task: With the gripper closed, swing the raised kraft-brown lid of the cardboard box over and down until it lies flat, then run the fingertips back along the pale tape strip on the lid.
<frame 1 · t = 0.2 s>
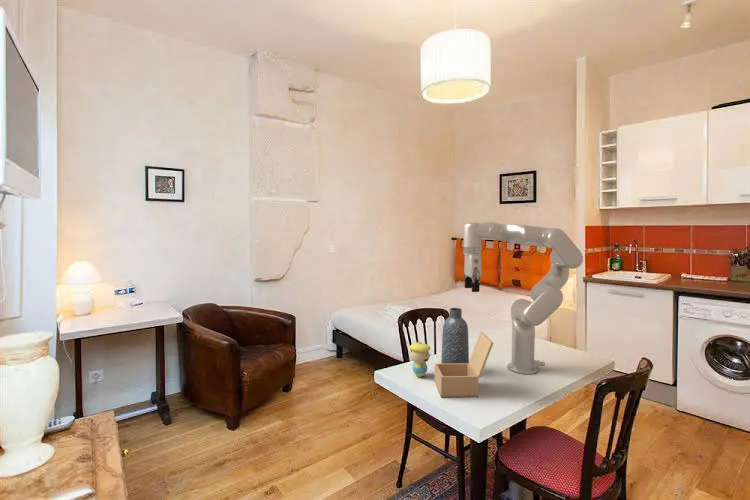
hand: (471, 289, 172), 36 cm above the table, tool pointing down, fingers open, 9 cm apart
lid: (480, 353, 154), point 15 cm above the table, hinge at 110.0°
toy: (420, 376, 168), on the table
box: (455, 389, 155), on the table
vase: (454, 372, 173), on the table
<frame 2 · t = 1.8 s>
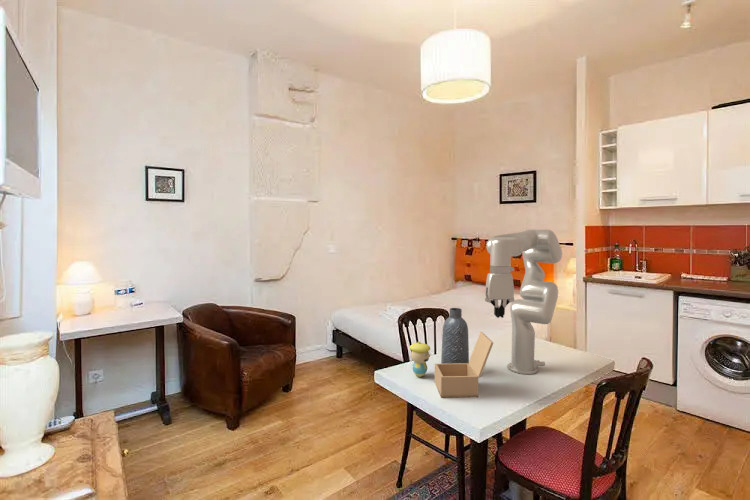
hand: (499, 316, 153), 29 cm above the table, tool pointing down, fingers closed
nothing on the table moved.
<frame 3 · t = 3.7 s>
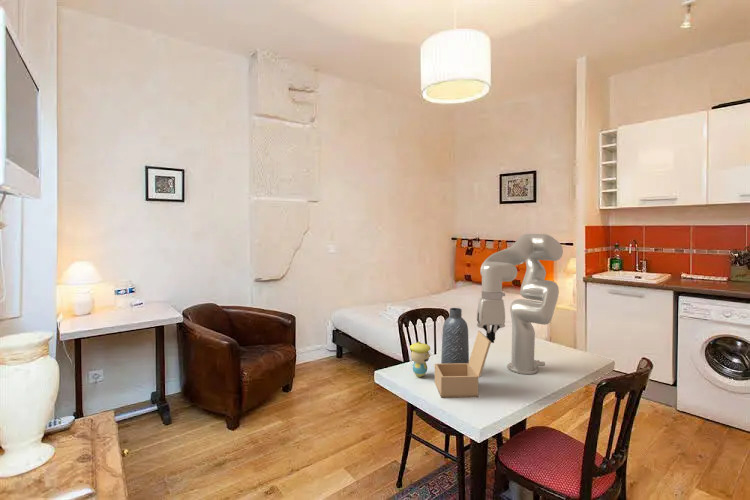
hand: (490, 341, 154), 19 cm above the table, tool pointing down, fingers closed
lid: (479, 353, 154), point 15 cm above the table, hinge at 106.0°, touching gripper
everything else where it was.
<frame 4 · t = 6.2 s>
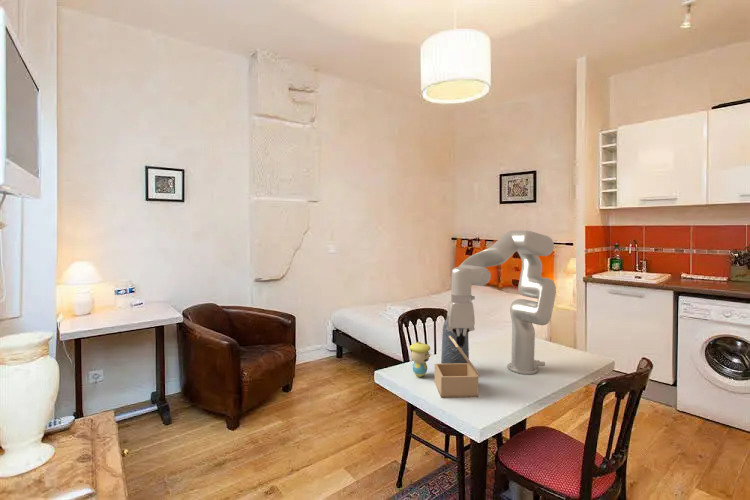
hand: (460, 345, 153), 18 cm above the table, tool pointing down, fingers closed
lid: (463, 354, 154), point 14 cm above the table, hinge at 53.3°, touching gripper
everything else where it was.
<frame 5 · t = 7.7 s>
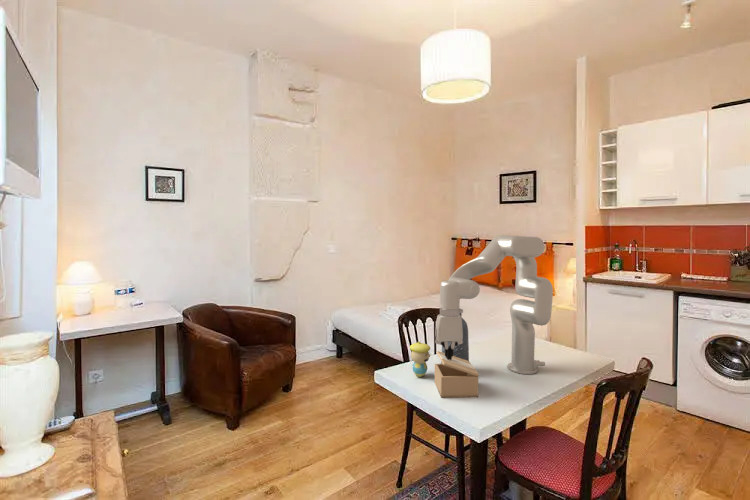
hand: (448, 358, 154), 13 cm above the table, tool pointing down, fingers closed
lid: (457, 362, 154), point 11 cm above the table, hinge at 18.9°, touching gripper
everything else where it was.
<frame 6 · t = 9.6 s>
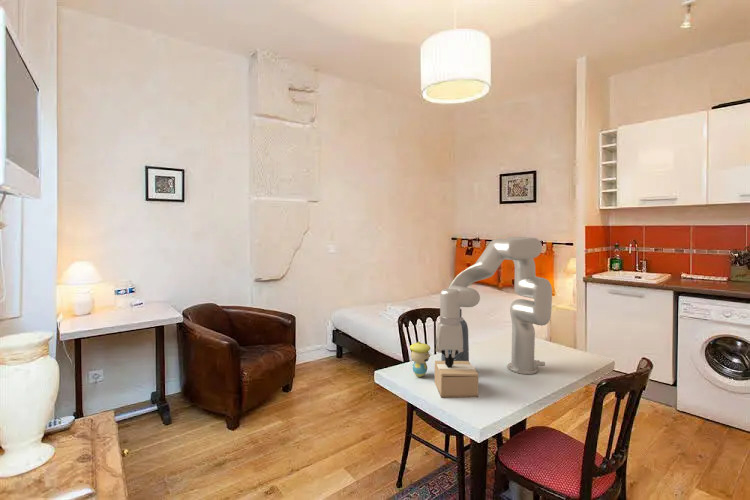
hand: (449, 366, 154), 9 cm above the table, tool pointing down, fingers closed
lid: (455, 367, 154), point 9 cm above the table, hinge at 1.8°
everything else where it was.
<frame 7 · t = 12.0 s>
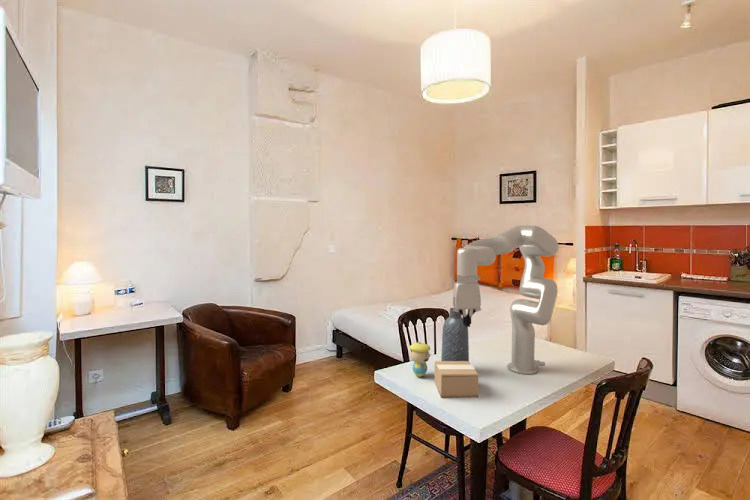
hand: (466, 325, 153), 26 cm above the table, tool pointing down, fingers closed
lid: (455, 368, 154), point 9 cm above the table, hinge at 0.9°
everything else where it was.
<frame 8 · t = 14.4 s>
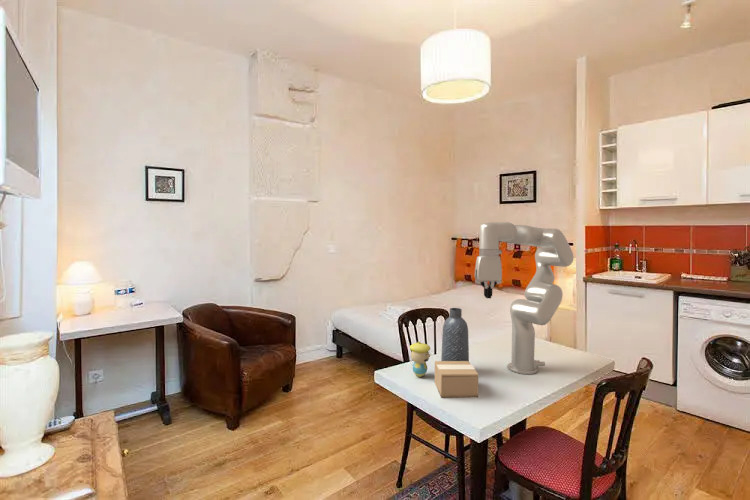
hand: (488, 297, 161), 35 cm above the table, tool pointing down, fingers closed
nothing on the table moved.
at the end: lid at +1° (first picture: +110°); vase moved 0.2 cm from its start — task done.
